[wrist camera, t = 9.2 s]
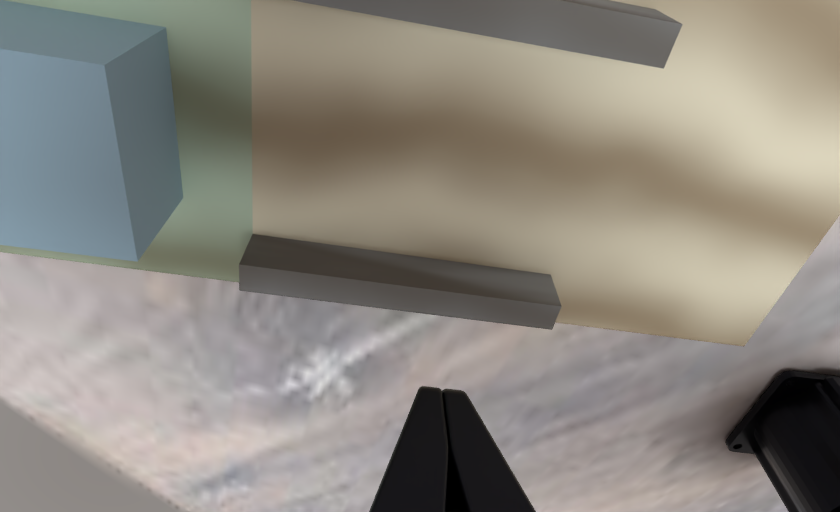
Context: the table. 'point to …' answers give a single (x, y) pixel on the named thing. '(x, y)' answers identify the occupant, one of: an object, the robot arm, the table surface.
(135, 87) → the blue block
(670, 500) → the table surface
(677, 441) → the table surface
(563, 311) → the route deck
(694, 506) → the table surface
